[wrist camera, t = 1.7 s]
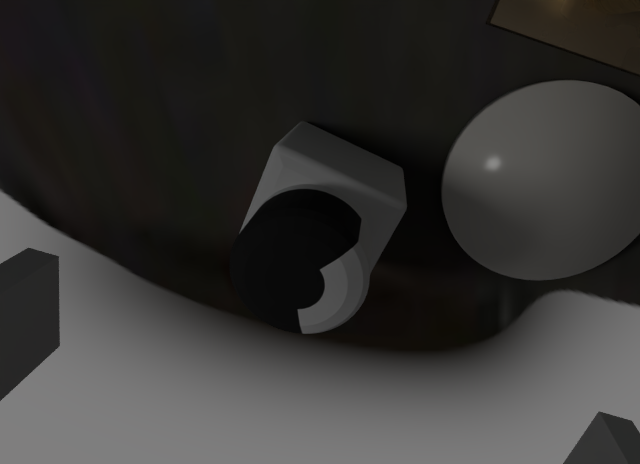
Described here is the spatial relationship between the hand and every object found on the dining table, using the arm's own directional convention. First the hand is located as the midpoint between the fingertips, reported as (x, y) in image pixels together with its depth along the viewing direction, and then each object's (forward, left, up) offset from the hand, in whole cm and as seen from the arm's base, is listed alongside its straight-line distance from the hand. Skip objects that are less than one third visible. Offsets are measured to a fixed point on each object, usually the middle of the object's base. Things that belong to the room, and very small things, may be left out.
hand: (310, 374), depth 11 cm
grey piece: (-1, -2, -19) cm, 20 cm away
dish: (+11, +3, -19) cm, 22 cm away
